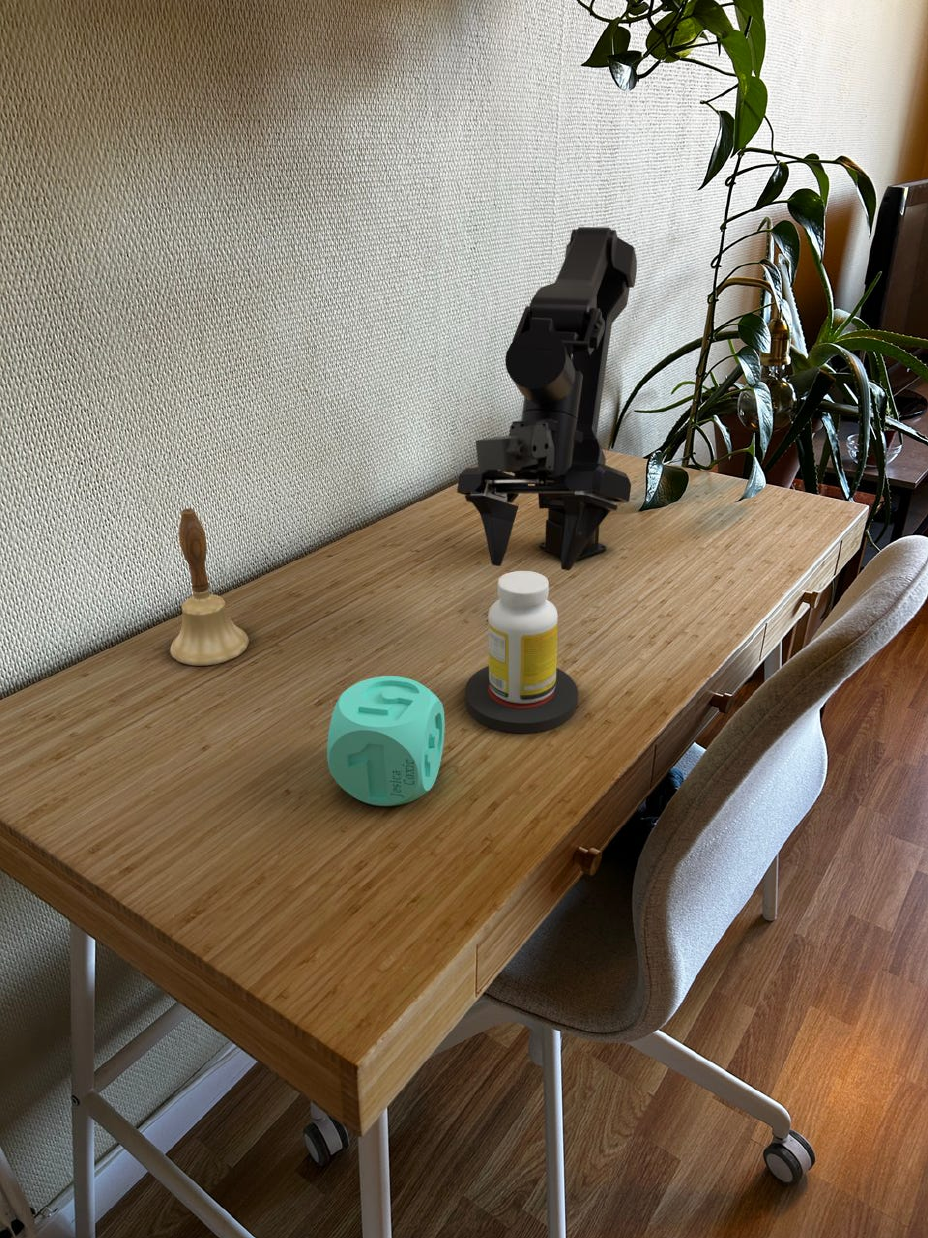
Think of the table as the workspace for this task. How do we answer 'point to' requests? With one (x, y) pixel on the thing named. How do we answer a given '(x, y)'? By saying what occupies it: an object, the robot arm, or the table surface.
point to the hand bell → (203, 608)
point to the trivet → (520, 706)
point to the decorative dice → (386, 740)
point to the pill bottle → (522, 639)
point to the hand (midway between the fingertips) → (529, 567)
